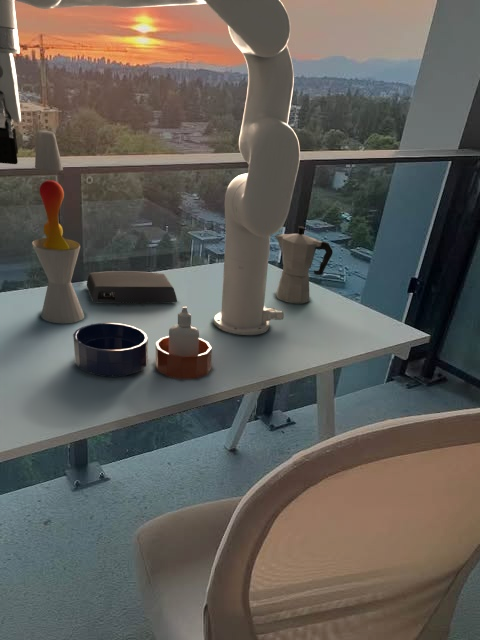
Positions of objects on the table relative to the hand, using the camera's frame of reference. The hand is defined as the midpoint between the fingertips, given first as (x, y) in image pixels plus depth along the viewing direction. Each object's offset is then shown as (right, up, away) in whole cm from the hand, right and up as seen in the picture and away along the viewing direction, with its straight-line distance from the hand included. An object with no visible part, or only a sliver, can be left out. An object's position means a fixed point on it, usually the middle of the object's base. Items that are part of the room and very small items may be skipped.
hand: (8, 158), depth 108 cm
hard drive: (+10, -12, +40) cm, 43 cm away
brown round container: (+28, -35, +12) cm, 46 cm away
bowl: (+15, -34, +9) cm, 39 cm away
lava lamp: (0, -21, +25) cm, 33 cm away
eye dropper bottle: (+28, -35, +12) cm, 46 cm away
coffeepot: (+49, -9, +55) cm, 74 cm away
